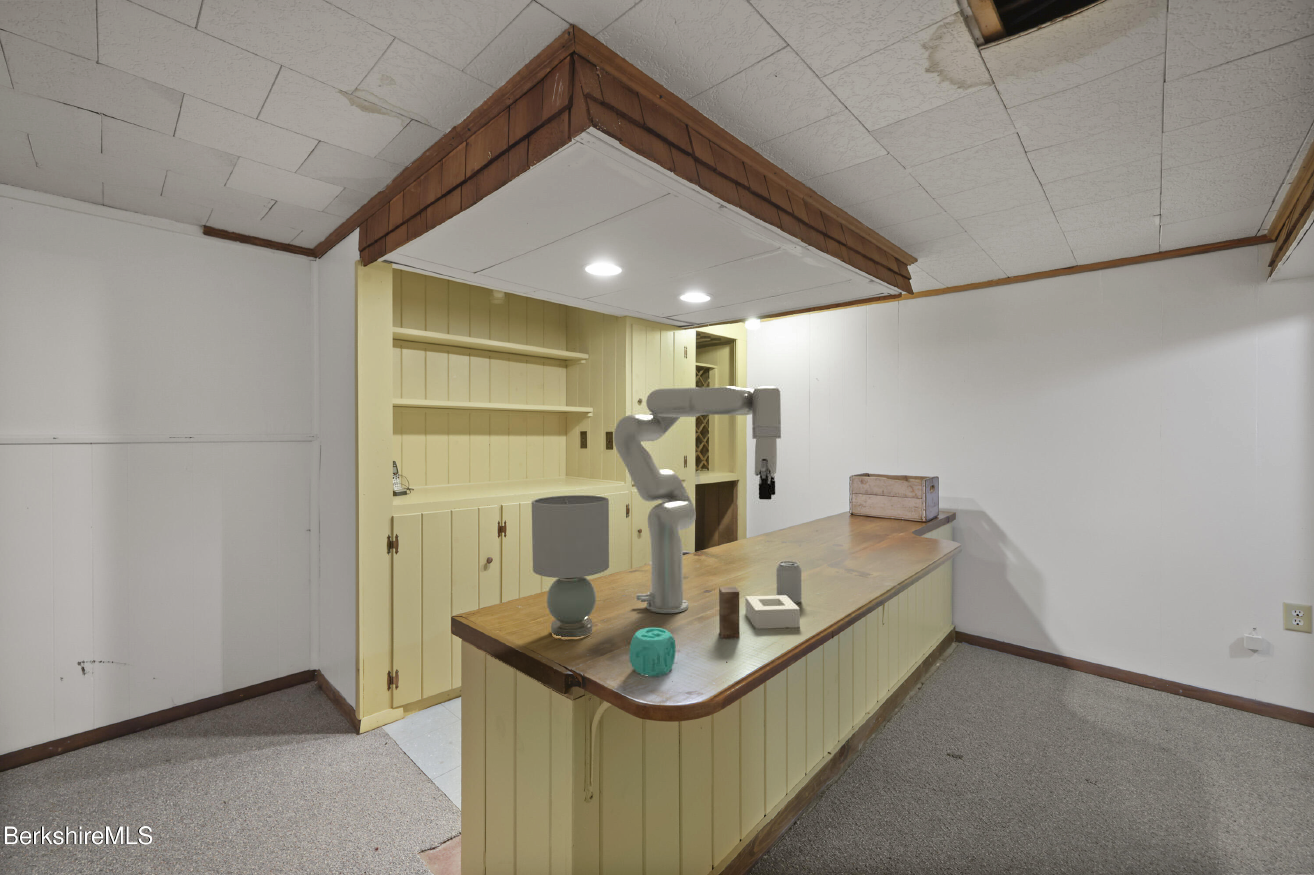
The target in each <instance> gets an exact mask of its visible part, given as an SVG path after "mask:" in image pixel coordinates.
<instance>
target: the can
mask: <svg viewBox="0 0 1314 875" xmlns="http://www.w3.org/2000/svg"><path fill="white" fill-rule="evenodd" d="M775 570H776V573H775V574H776V576H775V577H776V596H777V595H786V596H787V597H788V598H789V599H790V600H791V601H792V602H793V603H794V604H795V605H797V604H798V603H800V602H801V601H802V599H803V598H802V567H800V563H799V562H797V561H793V560H792V561H791V560H781V561H779V562H778V565H777V566H776V569H775Z"/></svg>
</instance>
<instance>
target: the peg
mask: <svg viewBox="0 0 1314 875" xmlns="http://www.w3.org/2000/svg"><path fill="white" fill-rule="evenodd" d="M718 608H719V609H718V612H719V613H718V614H719V615H718V616H719V617H718V618H719V619H718V620H719V622H718V623H719V627H718V628H719V635H720V636H722V637H721V639H722V640H732V639H734V638H736V639H740V638H741V637H740V636H741V635H740V629H741V628H740V591H739V590H738V588H737V587H736V586H720V587H718ZM731 638H732V639H731ZM734 640H735V639H734Z"/></svg>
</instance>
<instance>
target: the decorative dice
mask: <svg viewBox="0 0 1314 875" xmlns="http://www.w3.org/2000/svg"><path fill="white" fill-rule="evenodd" d="M676 646H677V645H676V641H675V638H674V636H673V634H671V632H670V631H669V630H667V629H664V628H660V627H646V628H642V629H639V630H638V631H636V632H635V633H634V635H633V636H632V639H631V641H630V646H629V651H628V652H629V653H628V654H629V655H628V656H629V663H630V666H632V669H633V670H634V671H635V672H636V673H637V672H638V674H639V673H640V674H639V675H641V674H643V675H648V676H647V677H649V676H656V677H660V676H659V675H662V676H664V674H665V675H666V673H667V674H668V673H669V672H670V671H671V670H672V668H673V666H674V663H675V658H676V650H677V649H676ZM643 675H642V676H643Z"/></svg>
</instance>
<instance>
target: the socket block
mask: <svg viewBox="0 0 1314 875" xmlns="http://www.w3.org/2000/svg"><path fill="white" fill-rule="evenodd" d="M744 598H745V606H744V607H745V615H746V617H747V618H748V619H749V621H750V622H751V624H752V625H753V626H754V628H755V629H785V628H786V627H789V628H800V627H801V621H800V619H801V618H800V617H801V614H800V612H801V609H800V607H799V606H798V605H797V604H794V603H793V602H792V601H791V600H790V599H789V598H788V597H787V596H786V595H777V594H776V595H751V596H749V595H748V596H745V597H744Z"/></svg>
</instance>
